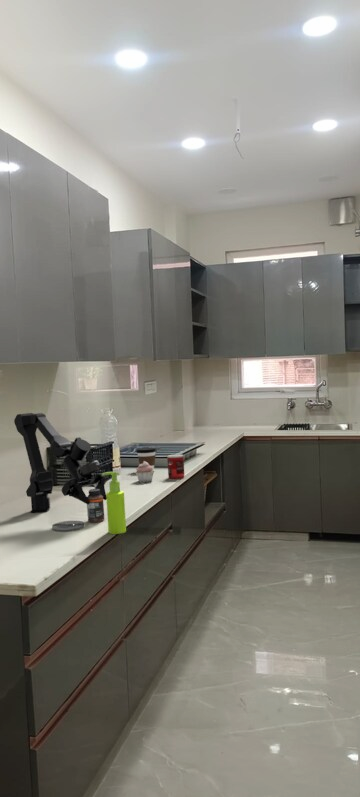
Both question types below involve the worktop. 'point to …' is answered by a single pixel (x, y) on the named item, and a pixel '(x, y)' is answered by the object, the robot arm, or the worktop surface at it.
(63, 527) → the dark gray plate
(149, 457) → the coffee cup
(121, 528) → the soap dispenser
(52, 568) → the worktop surface
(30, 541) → the worktop surface
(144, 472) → the cupcake
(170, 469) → the canned food
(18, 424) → the robot arm
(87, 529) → the worktop surface
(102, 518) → the supplement bottle
